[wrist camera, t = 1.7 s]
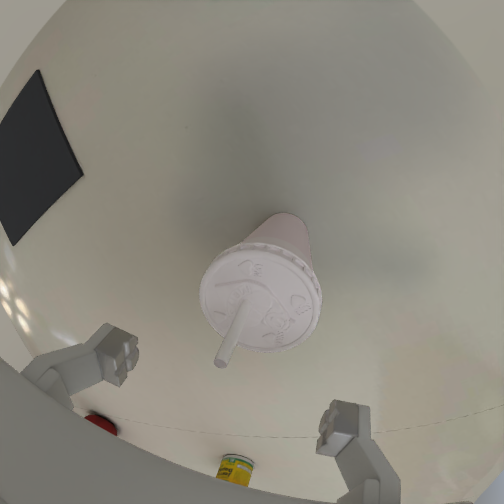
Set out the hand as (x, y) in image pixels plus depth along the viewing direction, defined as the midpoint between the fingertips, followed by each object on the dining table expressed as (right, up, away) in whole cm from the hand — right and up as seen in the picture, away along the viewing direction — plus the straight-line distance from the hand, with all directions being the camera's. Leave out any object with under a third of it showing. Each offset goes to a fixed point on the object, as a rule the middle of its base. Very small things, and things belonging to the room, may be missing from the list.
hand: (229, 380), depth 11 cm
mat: (-27, +15, +17) cm, 35 cm away
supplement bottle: (-1, -30, +31) cm, 43 cm away
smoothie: (+3, +6, +13) cm, 15 cm away
